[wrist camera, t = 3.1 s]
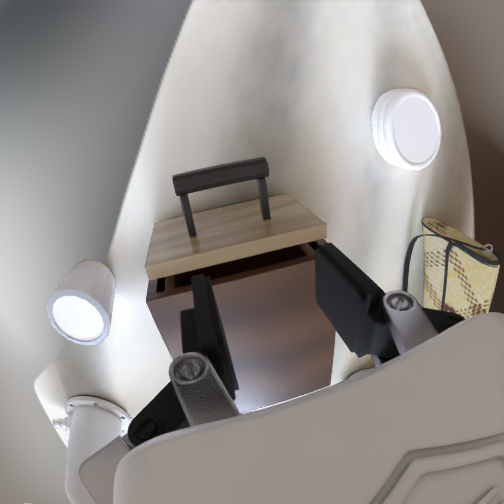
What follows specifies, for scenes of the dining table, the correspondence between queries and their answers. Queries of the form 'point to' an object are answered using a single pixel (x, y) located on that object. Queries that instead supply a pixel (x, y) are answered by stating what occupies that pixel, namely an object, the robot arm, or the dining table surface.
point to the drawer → (229, 229)
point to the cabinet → (261, 329)
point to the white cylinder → (84, 303)
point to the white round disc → (406, 128)
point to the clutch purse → (455, 270)
